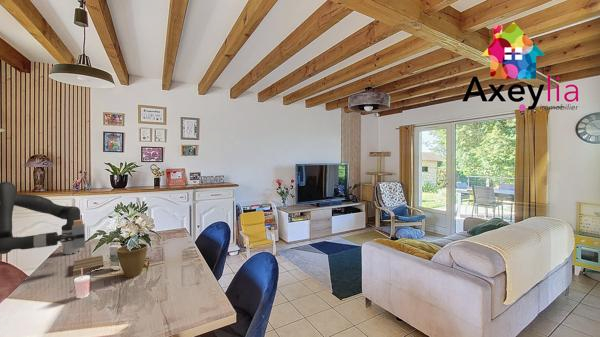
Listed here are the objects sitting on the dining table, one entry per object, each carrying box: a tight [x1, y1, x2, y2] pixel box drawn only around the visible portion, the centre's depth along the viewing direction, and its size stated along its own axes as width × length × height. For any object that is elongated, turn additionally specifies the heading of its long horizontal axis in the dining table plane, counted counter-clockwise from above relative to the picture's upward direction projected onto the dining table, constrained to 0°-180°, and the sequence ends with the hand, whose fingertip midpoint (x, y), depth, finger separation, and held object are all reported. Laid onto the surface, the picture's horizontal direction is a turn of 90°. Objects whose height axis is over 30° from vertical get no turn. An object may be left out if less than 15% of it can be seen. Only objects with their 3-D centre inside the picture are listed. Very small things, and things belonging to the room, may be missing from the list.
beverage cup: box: [73, 268, 91, 299], centre depth 126 cm, size 6×6×14 cm
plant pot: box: [117, 243, 148, 279], centre depth 149 cm, size 15×15×16 cm
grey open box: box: [72, 223, 86, 249], centre depth 157 cm, size 6×6×13 cm
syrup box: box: [109, 243, 122, 267], centre depth 158 cm, size 6×6×14 cm
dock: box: [72, 254, 105, 276], centre depth 161 cm, size 20×14×3 cm
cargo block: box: [74, 219, 84, 226], centre depth 157 cm, size 4×4×4 cm
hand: (84, 234), depth 159 cm, fingers closed on grey open box, 5 cm apart
